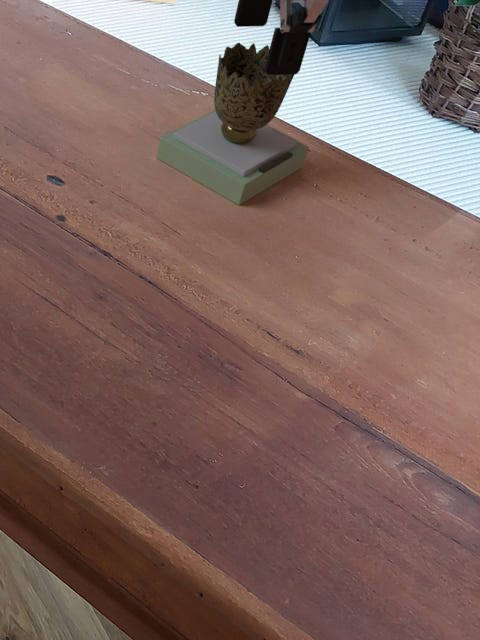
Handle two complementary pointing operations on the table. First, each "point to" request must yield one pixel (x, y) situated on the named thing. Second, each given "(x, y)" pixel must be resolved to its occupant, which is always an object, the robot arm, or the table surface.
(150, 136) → the table surface
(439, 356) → the table surface
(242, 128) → the cup
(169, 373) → the table surface
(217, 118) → the scale
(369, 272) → the table surface
